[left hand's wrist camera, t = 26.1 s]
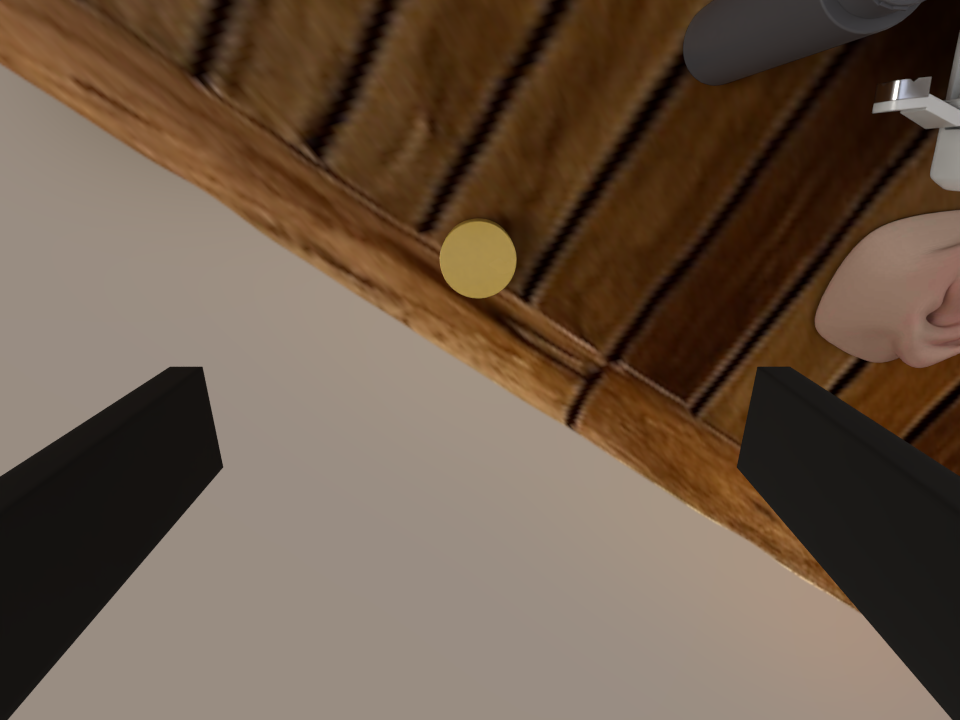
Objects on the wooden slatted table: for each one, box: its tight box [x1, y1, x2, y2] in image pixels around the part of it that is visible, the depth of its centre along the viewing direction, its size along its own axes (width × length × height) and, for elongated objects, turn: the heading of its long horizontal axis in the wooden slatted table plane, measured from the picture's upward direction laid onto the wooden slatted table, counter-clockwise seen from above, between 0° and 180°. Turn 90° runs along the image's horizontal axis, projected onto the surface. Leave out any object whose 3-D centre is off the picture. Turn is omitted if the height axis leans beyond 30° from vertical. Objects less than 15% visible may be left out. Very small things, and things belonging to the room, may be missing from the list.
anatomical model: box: [815, 210, 960, 368], centre depth 36 cm, size 13×4×12 cm
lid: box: [440, 218, 517, 298], centre depth 36 cm, size 5×5×2 cm
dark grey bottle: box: [683, 0, 925, 85], centre depth 25 cm, size 5×5×16 cm
